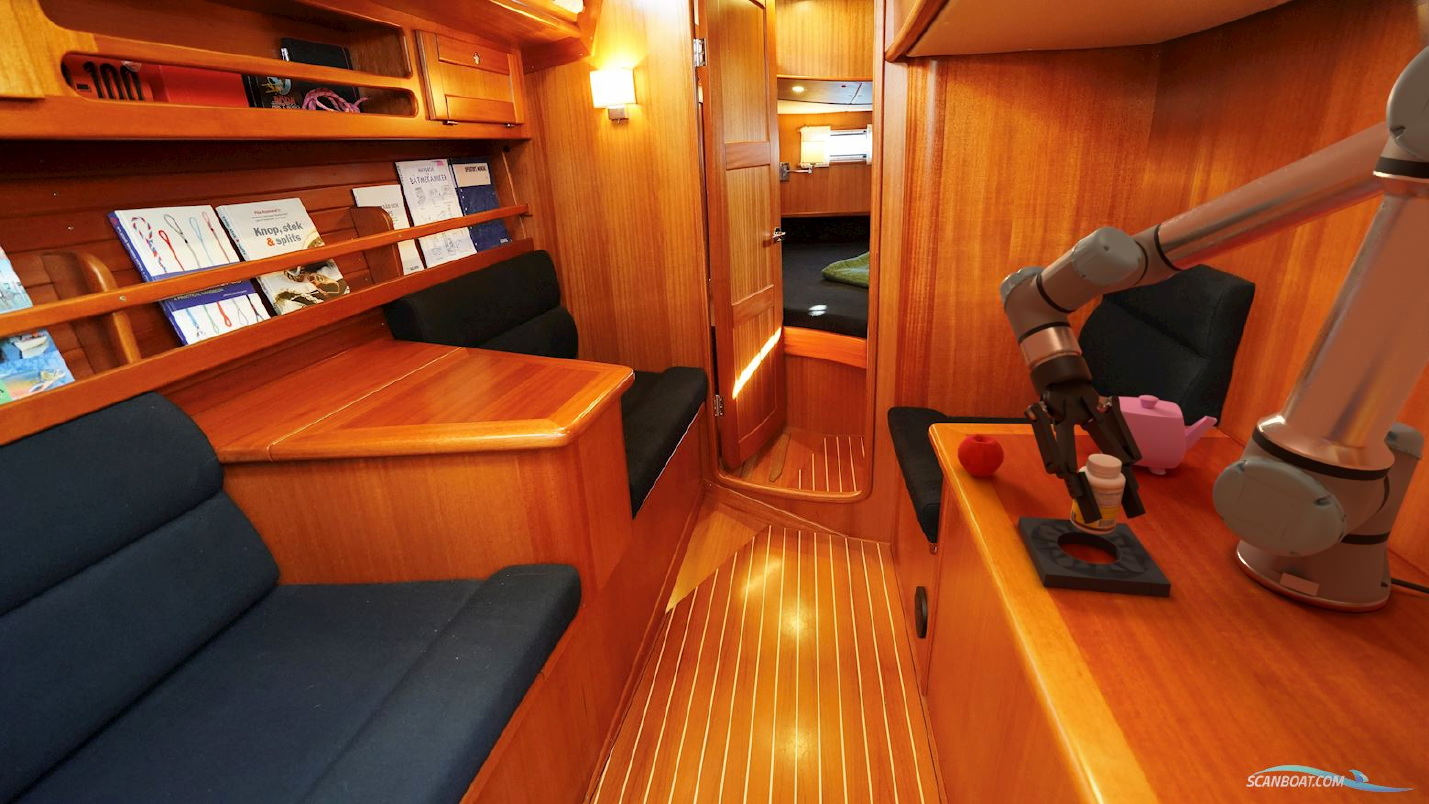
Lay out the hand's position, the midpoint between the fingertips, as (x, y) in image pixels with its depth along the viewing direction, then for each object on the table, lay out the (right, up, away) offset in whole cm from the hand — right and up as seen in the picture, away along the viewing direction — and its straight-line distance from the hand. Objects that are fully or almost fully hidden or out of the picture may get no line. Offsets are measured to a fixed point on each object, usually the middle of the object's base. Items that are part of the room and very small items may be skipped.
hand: (1115, 518), depth 85 cm
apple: (-5, +2, +32) cm, 32 cm away
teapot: (+25, +4, +34) cm, 42 cm away
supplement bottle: (0, -2, +5) cm, 5 cm away
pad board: (0, -7, +6) cm, 9 cm away
